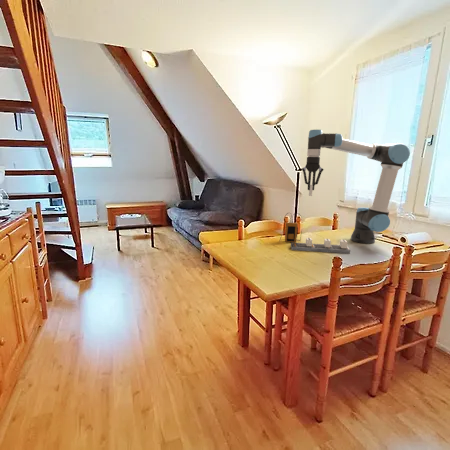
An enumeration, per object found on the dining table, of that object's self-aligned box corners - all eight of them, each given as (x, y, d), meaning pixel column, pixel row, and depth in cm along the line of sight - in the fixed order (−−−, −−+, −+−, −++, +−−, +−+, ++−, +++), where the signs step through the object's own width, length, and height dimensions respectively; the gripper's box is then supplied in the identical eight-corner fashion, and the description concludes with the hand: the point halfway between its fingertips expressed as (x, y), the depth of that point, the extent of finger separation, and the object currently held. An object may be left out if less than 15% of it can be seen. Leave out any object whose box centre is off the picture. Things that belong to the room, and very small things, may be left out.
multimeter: (299, 238, 203) (301, 210, 198) (301, 242, 193) (303, 213, 189) (278, 238, 204) (279, 210, 200) (279, 241, 195) (281, 212, 190)
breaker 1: (310, 244, 182) (311, 237, 181) (311, 246, 178) (312, 239, 177) (305, 243, 183) (306, 237, 182) (306, 246, 178) (307, 239, 177)
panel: (345, 248, 182) (346, 245, 182) (350, 253, 172) (350, 250, 172) (290, 245, 187) (290, 242, 187) (291, 250, 178) (291, 246, 177)
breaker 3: (344, 246, 179) (345, 239, 178) (346, 248, 175) (347, 241, 174) (339, 245, 180) (340, 239, 179) (341, 248, 175) (342, 241, 174)
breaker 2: (328, 245, 181) (329, 238, 180) (330, 247, 176) (331, 240, 175) (323, 244, 181) (324, 238, 180) (325, 247, 176) (325, 240, 175)
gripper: (323, 156, 177) (320, 195, 183) (301, 156, 179) (299, 194, 185) (325, 156, 170) (322, 196, 176) (303, 156, 172) (300, 196, 178)
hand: (310, 195), depth 180 cm, fingers closed
